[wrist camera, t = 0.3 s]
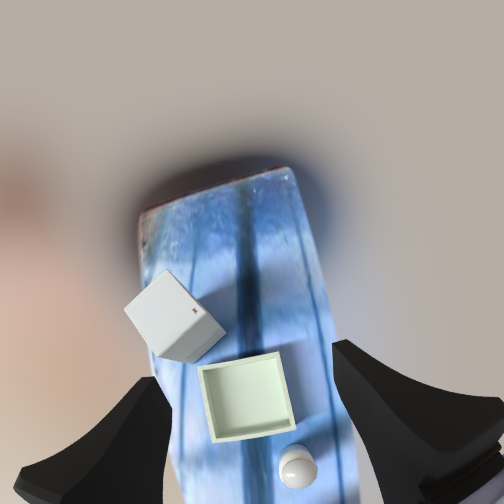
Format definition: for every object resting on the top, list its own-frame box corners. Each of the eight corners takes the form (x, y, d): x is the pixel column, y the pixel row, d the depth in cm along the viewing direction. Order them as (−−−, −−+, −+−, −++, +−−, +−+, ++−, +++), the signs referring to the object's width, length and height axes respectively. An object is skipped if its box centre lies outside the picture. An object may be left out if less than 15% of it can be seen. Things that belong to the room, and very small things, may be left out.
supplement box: (196, 298, 42) (167, 265, 30) (228, 333, 39) (209, 312, 28) (161, 329, 40) (121, 307, 29) (191, 366, 37) (157, 358, 26)
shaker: (312, 466, 29) (321, 484, 22) (281, 473, 29) (283, 493, 22) (307, 440, 31) (315, 454, 24) (275, 447, 31) (276, 463, 24)
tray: (294, 425, 32) (296, 429, 30) (216, 438, 32) (212, 443, 29) (278, 353, 37) (278, 351, 35) (202, 367, 37) (197, 366, 34)
